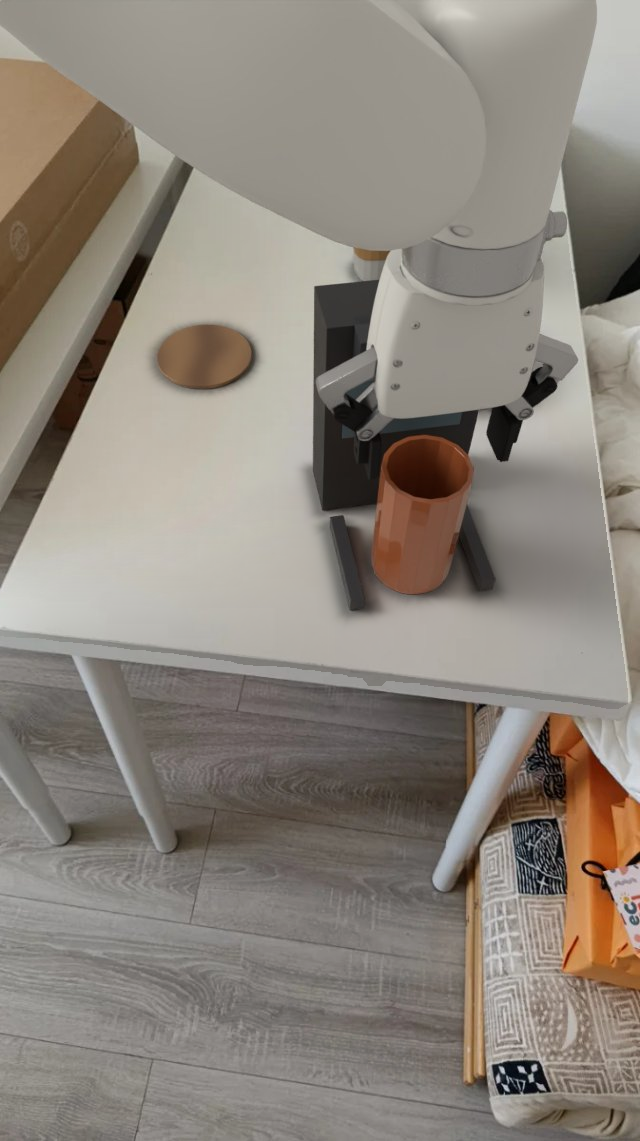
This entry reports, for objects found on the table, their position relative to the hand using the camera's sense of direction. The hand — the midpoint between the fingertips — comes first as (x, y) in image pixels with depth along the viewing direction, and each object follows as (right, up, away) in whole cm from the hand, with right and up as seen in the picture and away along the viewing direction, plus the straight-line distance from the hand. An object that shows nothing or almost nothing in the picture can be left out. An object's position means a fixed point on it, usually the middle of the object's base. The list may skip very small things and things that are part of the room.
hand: (433, 456), depth 57 cm
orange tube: (0, -8, +11) cm, 13 cm away
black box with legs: (-1, -4, +13) cm, 14 cm away
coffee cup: (-1, +27, +35) cm, 44 cm away
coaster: (-21, +14, +26) cm, 36 cm away
